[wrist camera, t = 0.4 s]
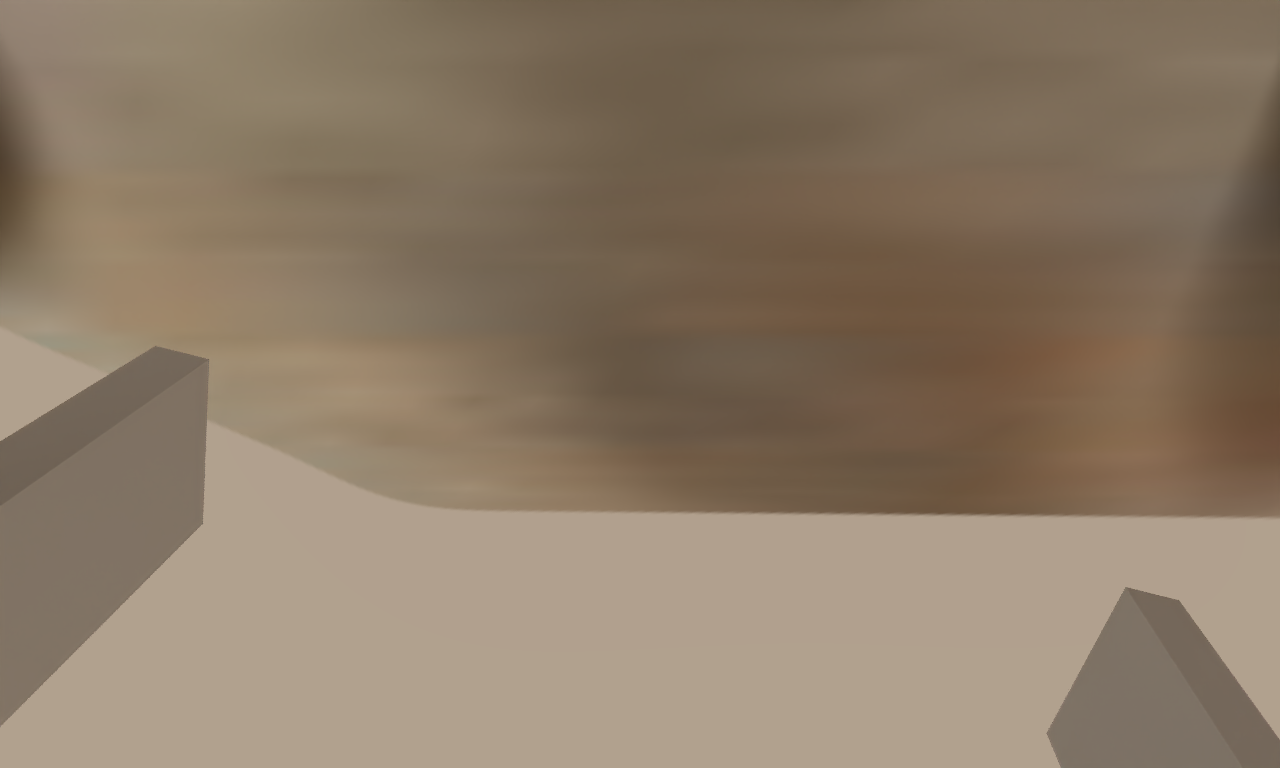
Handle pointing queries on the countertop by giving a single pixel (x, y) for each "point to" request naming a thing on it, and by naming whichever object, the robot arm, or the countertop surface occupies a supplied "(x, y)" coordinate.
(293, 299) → the countertop surface
